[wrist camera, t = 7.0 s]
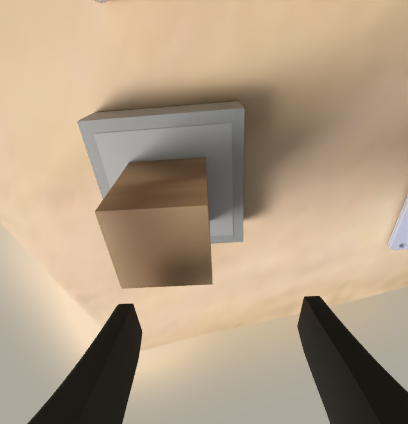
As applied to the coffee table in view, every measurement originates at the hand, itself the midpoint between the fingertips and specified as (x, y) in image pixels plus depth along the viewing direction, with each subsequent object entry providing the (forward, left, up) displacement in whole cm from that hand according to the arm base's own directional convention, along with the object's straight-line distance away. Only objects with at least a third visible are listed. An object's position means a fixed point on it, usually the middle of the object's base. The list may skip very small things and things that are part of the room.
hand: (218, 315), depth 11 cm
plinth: (+2, -3, -10) cm, 10 cm away
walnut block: (+2, -2, -7) cm, 8 cm away
